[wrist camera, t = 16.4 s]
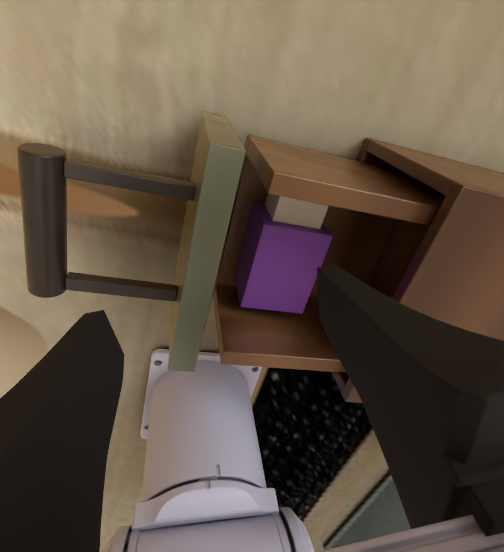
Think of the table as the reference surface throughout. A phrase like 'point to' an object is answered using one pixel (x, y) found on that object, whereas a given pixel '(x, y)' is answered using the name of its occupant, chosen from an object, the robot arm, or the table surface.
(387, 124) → the table surface
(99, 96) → the table surface
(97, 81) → the table surface
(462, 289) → the cabinet
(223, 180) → the drawer
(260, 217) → the purple eraser
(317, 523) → the table surface
